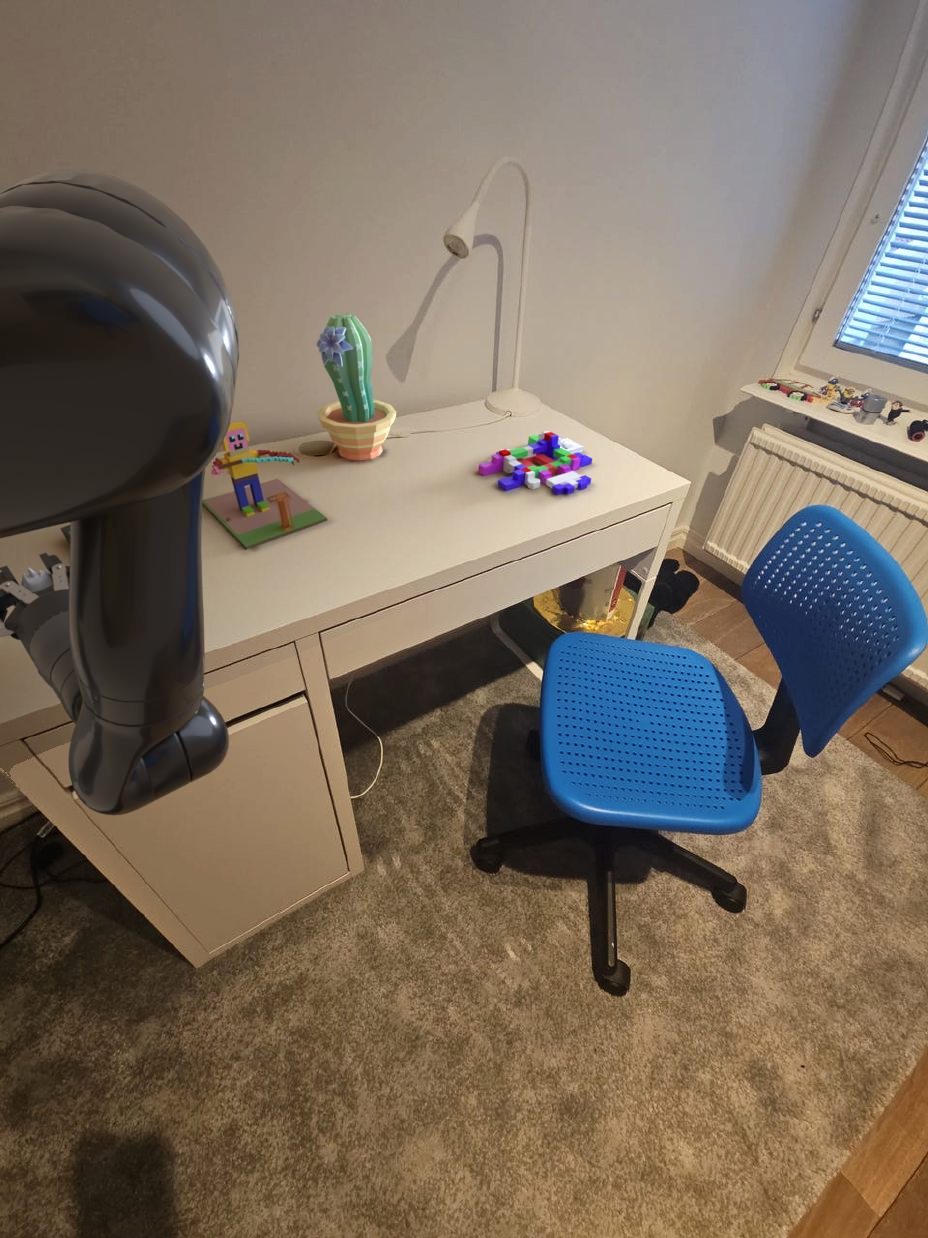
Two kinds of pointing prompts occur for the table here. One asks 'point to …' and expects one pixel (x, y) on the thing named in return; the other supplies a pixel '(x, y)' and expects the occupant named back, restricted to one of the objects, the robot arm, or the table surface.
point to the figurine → (257, 495)
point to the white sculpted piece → (36, 580)
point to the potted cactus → (352, 391)
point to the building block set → (544, 454)
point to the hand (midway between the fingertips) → (27, 567)
